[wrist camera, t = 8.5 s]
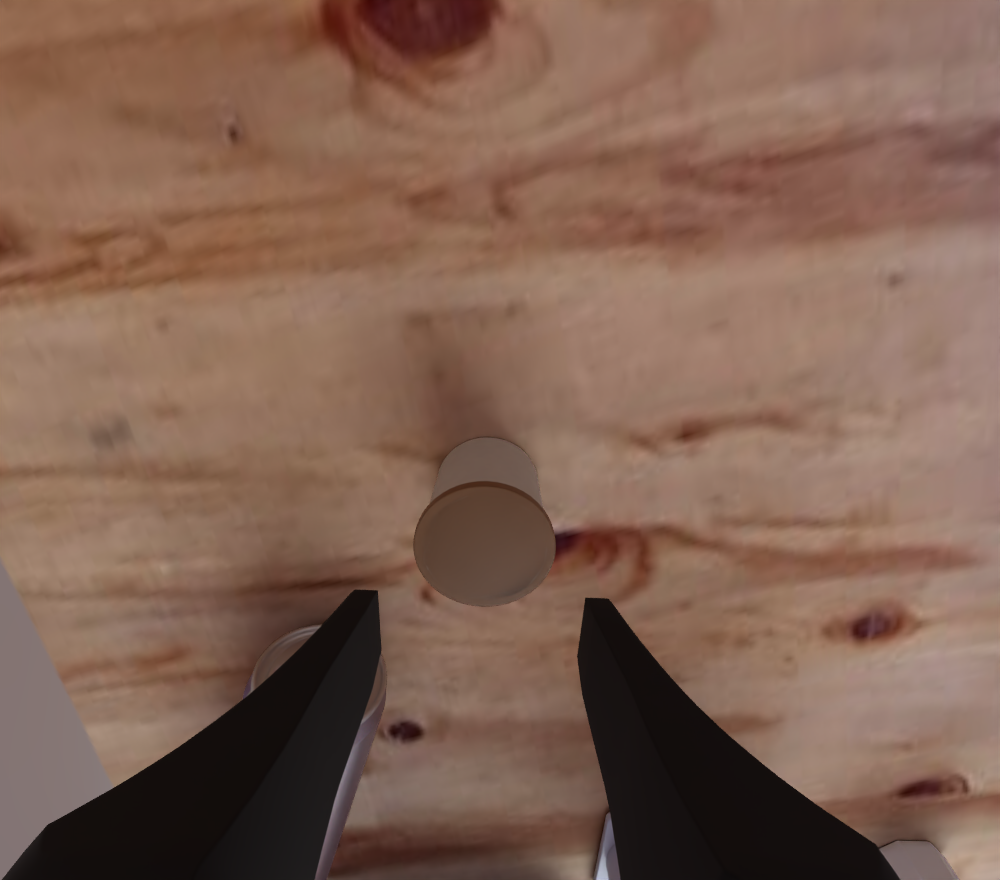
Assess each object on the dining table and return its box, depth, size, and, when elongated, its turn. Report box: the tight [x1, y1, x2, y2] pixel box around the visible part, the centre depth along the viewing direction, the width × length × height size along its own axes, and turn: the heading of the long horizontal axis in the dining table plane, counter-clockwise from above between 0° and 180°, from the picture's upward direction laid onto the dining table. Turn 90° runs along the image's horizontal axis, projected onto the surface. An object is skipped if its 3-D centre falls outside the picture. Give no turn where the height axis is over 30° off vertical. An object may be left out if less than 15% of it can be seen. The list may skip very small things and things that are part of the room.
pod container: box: [413, 437, 556, 607], centre depth 18 cm, size 5×5×5 cm
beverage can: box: [243, 624, 387, 880], centre depth 23 cm, size 6×6×15 cm
